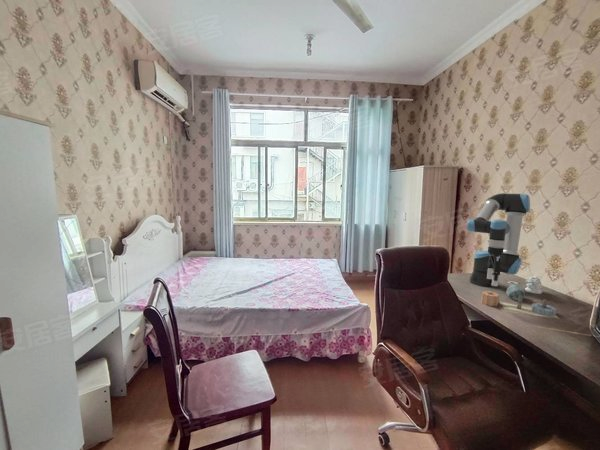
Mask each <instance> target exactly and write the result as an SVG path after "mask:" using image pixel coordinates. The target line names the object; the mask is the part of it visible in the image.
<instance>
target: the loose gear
mask: <svg viewBox="0 0 600 450" xmlns="http://www.w3.org/2000/svg"><path fill="white" fill-rule="evenodd" d="M499 300H500V294H498V292H493V291H489V290H484V291H482V294H481V304H483V305H484V306H489V307H497V306H499V302H500V301H499Z"/></svg>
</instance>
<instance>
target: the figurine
mask: <svg viewBox="0 0 600 450" xmlns="http://www.w3.org/2000/svg"><path fill="white" fill-rule="evenodd" d="M538 276H539V275H538V274H537V275H534V276H532V275H530V277H529V279H527V280H525V282H526V284H525V285H526V287H525V288H524V291H525V292H528V293H531V294H539V295H541V294H542V293H543V291H542V290H541V288H542V287H543V284H542V281H541V278H539V277H538Z"/></svg>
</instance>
